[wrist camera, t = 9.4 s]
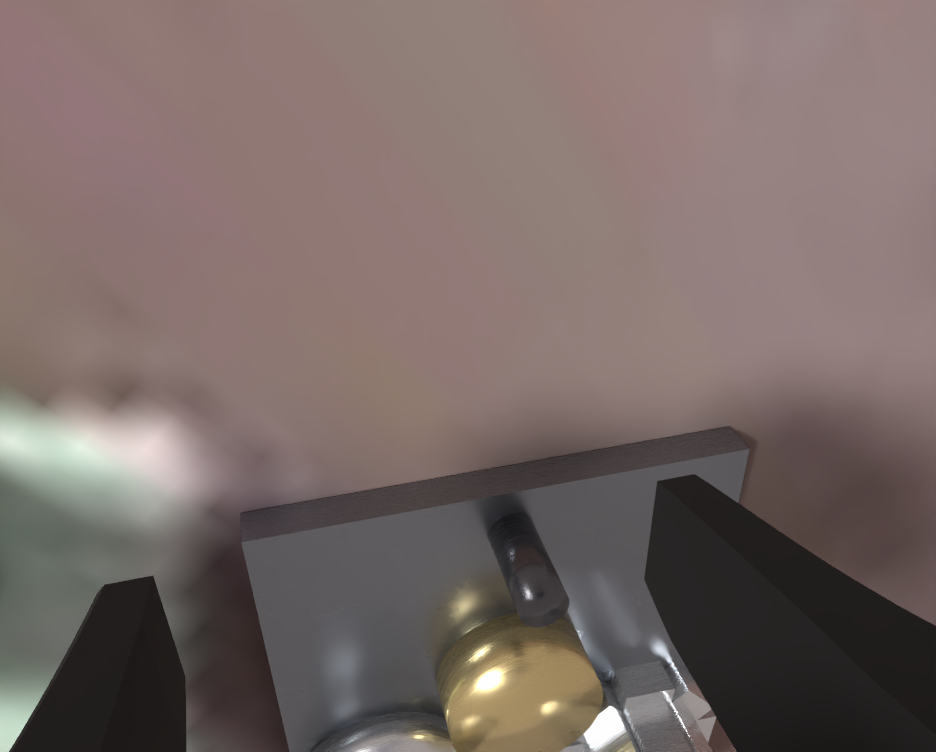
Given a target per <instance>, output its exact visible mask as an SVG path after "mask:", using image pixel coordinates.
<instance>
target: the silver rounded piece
mask: <svg viewBox="0 0 936 752" xmlns="http://www.w3.org/2000/svg"><path fill="white" fill-rule="evenodd" d="M313 752H456V750H455V749H454V747H453V745H452V742H451V738H450V734H449V730H448V727H447V723H446V719H445V718H443V717H440V716H437V715H433V714H428V713H421V712H398V713H389V714H384V715H379V716H375V717H371V718H368V719H365V720H362V721H359V722H357V723H354V724H352V725H350V726H348V727H345V728H343V729H342V730H340V731H338V732H336V733H335V734H333V735H332V736H330V737H329V738H327V739H326V740H324V741H323V742H322V743H321V744H320V745H319V746H317V747H316V748H315V749H314V750H313Z"/></svg>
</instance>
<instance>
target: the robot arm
mask: <svg viewBox="0 0 936 752" xmlns="http://www.w3.org/2000/svg"><path fill="white" fill-rule="evenodd" d="M644 580H645V583H646V585H647V587H648V590H649V592H650V594H651V597H652V599H653V602H654V604H655V606H656V609H657V611H658V613H659V616H660V618H661V620H662V622H663V624H664V626H665V629H666V631H667V633H668V635H669V637H670V640H671V641H672V643H673V645H674V647H675V648H676V650H677V652H678V654H679V655H680V657H681V659H682V660H683V662H684V664H685V666H686V667H687V669H688V671H689V672H690V674H691V676H692V677H693V679H694V681H695V682H696V684H697V686H698V688H699V689H700V691H701V693H702V694H703V696H704V698H705V699H706V701H707V703H708V704H709V706H710V708H711V709H712V711H713V712H714V714H715V716H716V717H717V719H718V721H719V722H720V724H721V726H722V727H723V729H724V731H725V732H726V734H727V736H728V737H729V739H730V741H731V742H732V744H733V746H734V747H735V749H736V751H737V752H936V626H935V625H933V624H931V623H929V622H927V621H925V620H923V619H921V618H920V617H918V616H916V615H914V614H912V613H910V612H909V611H907V610H905V609H903V608H901V607H900V606H898V605H896V604H894V603H893V602H891V601H889V600H888V599H886V598H884V597H882V596H881V595H879V594H877V593H876V592H874V591H872V590H871V589H869V588H867V587H866V586H864V585H862V584H860V583H859V582H857V581H855V580H854V579H852V578H850V577H849V576H847V575H846V574H844V573H842V572H841V571H839V570H838V569H836V568H834V567H833V566H831V565H830V564H828V563H826V562H825V561H823V560H822V559H820V558H819V557H817V556H816V555H814V554H812V553H811V552H809V551H808V550H806V549H805V548H803V547H802V546H800V545H799V544H797V543H796V542H794V541H793V540H791V539H790V538H788V537H787V536H785V535H784V534H782V533H781V532H779V531H778V530H776V529H775V528H773V527H772V526H771V525H769V524H768V523H766V522H765V521H763V520H762V519H760V518H759V517H757V516H756V515H755V514H753V513H752V512H750V511H749V510H747V509H746V508H744V507H743V506H741V505H740V504H739V503H737V502H736V501H734V500H733V499H731V498H730V497H728V496H727V495H726V494H724V493H723V492H721V491H720V490H718V489H717V488H715V487H714V486H712V485H711V484H709V483H708V482H706V481H705V480H703V479H702V478H700V477H699V476H697V475H695V474H692V475H687V476H681V477H676V478H671V479H665V480H660V481H657V486H656V494H655V501H654V509H653V516H652V524H651V531H650V539H649V546H648V554H647V561H646V569H645V576H644ZM9 752H186V692H185V675H184V672H183V668H182V665H181V662H180V659H179V656H178V653H177V650H176V647H175V643H174V640H173V637H172V634H171V631H170V628H169V625H168V621H167V618H166V615H165V612H164V609H163V606H162V603H161V599H160V596H159V593H158V590H157V587H156V584H155V581H154V577H153V576H149V577H144V578H138V579H133V580H128V581H122V582H117V583H112V584H107V585H104V586H103V587H102V588H101V589H100V591H99V592H98V593H97V595H96V597H95V599H94V601H93V603H92V605H91V607H90V609H89V611H88V613H87V615H86V617H85V619H84V621H83V623H82V625H81V627H80V629H79V630H78V632H77V634H76V636H75V638H74V640H73V642H72V644H71V646H70V647H69V649H68V651H67V653H66V655H65V657H64V659H63V660H62V662H61V664H60V666H59V668H58V669H57V671H56V673H55V675H54V677H53V679H52V680H51V682H50V684H49V686H48V687H47V689H46V691H45V692H44V694H43V696H42V697H41V699H40V701H39V703H38V704H37V706H36V708H35V709H34V711H33V713H32V714H31V716H30V718H29V720H28V721H27V723H26V725H25V726H24V728H23V730H22V732H21V733H20V735H19V737H18V738H17V740H16V741H15V743H14V745H13V746H12V748H11V749H10V751H9Z"/></svg>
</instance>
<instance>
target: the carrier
mask: <svg viewBox="0 0 936 752" xmlns="http://www.w3.org/2000/svg"><path fill="white" fill-rule="evenodd" d="M749 450H750V449H749V448H748V447H747V445H746V444H745V443H744V442H743V441H742V440H741V439H740V438H739V437H738V435H737V434H736V433H735V432H734V431H733V430H732V429H731V428H730V427H724V428H719V429H713V430H707V431H702V432H696V433H690V434H685V435H679V436H673V437H668V438H662V439H656V440H651V441H645V442H639V443H634V444H628V445H623V446H617V447H611V448H606V449H600V450H594V451H589V452H583V453H577V454H572V455H566V456H560V457H555V458H549V459H543V460H538V461H532V462H526V463H521V464H515V465H509V466H504V467H498V468H493V469H487V470H481V471H476V472H470V473H464V474H459V475H453V476H447V477H442V478H436V479H430V480H425V481H419V482H413V483H408V484H402V485H396V486H391V487H385V488H379V489H374V490H368V491H362V492H357V493H351V494H346V495H340V496H334V497H329V498H323V499H317V500H312V501H306V502H300V503H295V504H289V505H283V506H278V507H272V508H266V509H261V510H255V511H249V512H244V513H241V544H242V548H243V552H244V557H245V561H246V565H247V570H248V574H249V578H250V583H251V587H252V591H253V596H254V600H255V604H256V609H257V613H258V617H259V622H260V626H261V631H262V635H263V639H264V644H265V648H266V652H267V657H268V661H269V665H270V670H271V674H272V678H273V683H274V687H275V691H276V696H277V700H278V704H279V709H280V713H281V717H282V722H283V726H284V730H285V735H286V739H287V743H288V748H289V752H313V750H314V749H315V748H316V747H317V746H319V745H320V744H321V743H322V742H323V741H324V740H326V739H327V738H329V737H330V736H332V735H333V734H335V733H336V732H338V731H340V730H342V729H343V728H345V727H348V726H350V725H352V724H354V723H357V722H359V721H362V720H365V719H368V718H371V717H375V716H379V715H384V714H389V713H398V712H421V713H428V714H433V715H437V716H440V717H443V718H445V719H446V723H447V727H448V730H449V734H450V738H451V742H452V745H453V747H454V749H455V750H456V752H559V751H561V750H563V749H564V748H566V747H568V746H569V745H571V744H572V743H573V742H575V741H576V740H577V739H578V738H579V737H581V736H582V735H583V734H584V733H585V732H586V731H587V730H588V729H589V727H590V726H591V725H592V724H593V722H594V721H595V719H596V718H597V716H598V714H599V712H600V709H601V707H602V702H603V689H602V686H601V683H600V681H599V679H598V678H600V679H601V680H603V681H605V682H606V683H608V684H609V685H610V680H611V675H612V671H613V669H619V668H624V667H630V666H635V665H641V664H646V663H651V662H657V661H660V662H661V664H662V666H663V667H664V669H666V668H667V667H668V666H669V665H671V664H672V663H674V664H676V665H677V666H679V667H680V668H682V669H683V670H684V671H686V672H687V673H689V674H690V672H689V671H688V669H687V667H686V666H685V664H684V662H683V660H682V659H681V657H680V655H679V654H678V652H677V650H676V648H675V647H674V645H673V643H672V641H671V640H670V637H669V635H668V633H667V631H666V629H665V626H664V624H663V622H662V620H661V618H660V616H659V613H658V611H657V609H656V606H655V604H654V602H653V599H652V597H651V594H650V592H649V590H648V587H647V585H646V583H645V580H644V576H645V569H646V561H647V554H648V546H649V539H650V531H651V524H652V516H653V509H654V501H655V494H656V486H657V481H660V480H665V479H671V478H676V477H681V476H687V475H692V474H695V475H697V476H699V477H700V478H702V479H703V480H705V481H706V482H708V483H709V484H711V485H712V486H714V487H715V488H717V489H718V490H720V491H721V492H723V493H724V494H726V495H727V496H728V497H730V498H731V499H733V500H734V501H736V502H737V503H739V499H740V494H741V489H742V484H743V479H744V474H745V470H746V465H747V460H748V455H749ZM690 675H691V674H690Z"/></svg>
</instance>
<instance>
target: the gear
mask: <svg viewBox="0 0 936 752" xmlns="http://www.w3.org/2000/svg"><path fill="white" fill-rule="evenodd" d="M598 679H599V681H600V683H601V686H602V689H603V702H602V707H601V709H600V712H599V714H598V716H597V718H596V719H595V721H594V722H593V724H592V725H591V726H590V727H589V729H588V730H587V731H586V732H585V733H584V734H583V735H582V736H581V737H579V738H578V739H577V740H576V741H575V742H573V743H572V744H571V745H569V746H568V747H566V748H564V749H563V750H561V751H559V752H713V751H712V749H711V748H710V746H709V744H708V741H709V738H710V735H711V732H712V729H713V726H714V723H715V720H716V716H715V714H714V712H713V711H712V709H711V708H710V706H709V704H708V703H707V701H706V699H705V698H704V696H703V694H702V693H701V691H700V689H699V688H698V686H697V684H696V682H695V681H694V679H693V677H692V676H691V675H690V674H689V673H687V672H686V671H684V670H683V669H682V668H680V667H679V666H677V665H676V664H674V663H672V664H671V665H669V666H668V667H667V668H666V669H664V667H663V666H662V664H661V662H660V661H657V662H651V663H646V664H641V665H635V666H630V667H624V668H619V669H613V671H612V675H611V680H610V685H609V684H608V683H606V682H605V681H603V680H601V679H600V678H598Z"/></svg>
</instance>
